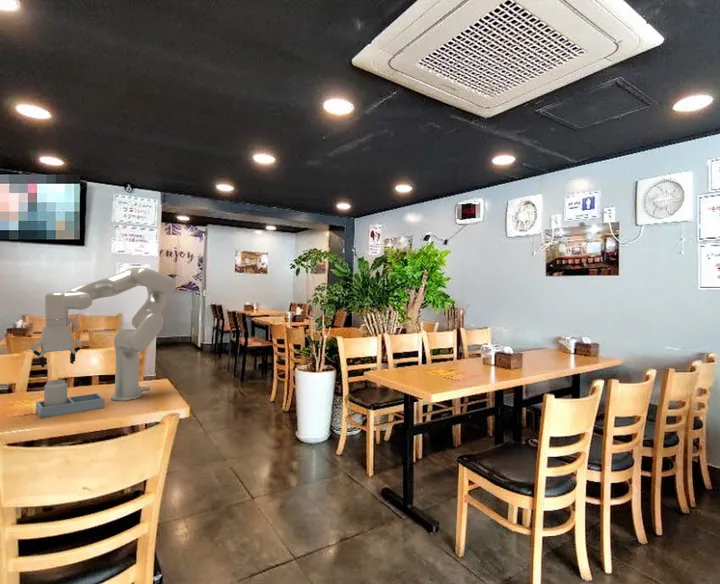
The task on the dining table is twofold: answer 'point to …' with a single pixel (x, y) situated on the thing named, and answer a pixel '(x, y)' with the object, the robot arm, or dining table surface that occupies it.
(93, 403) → the tray
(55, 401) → the can
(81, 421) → the dining table surface
